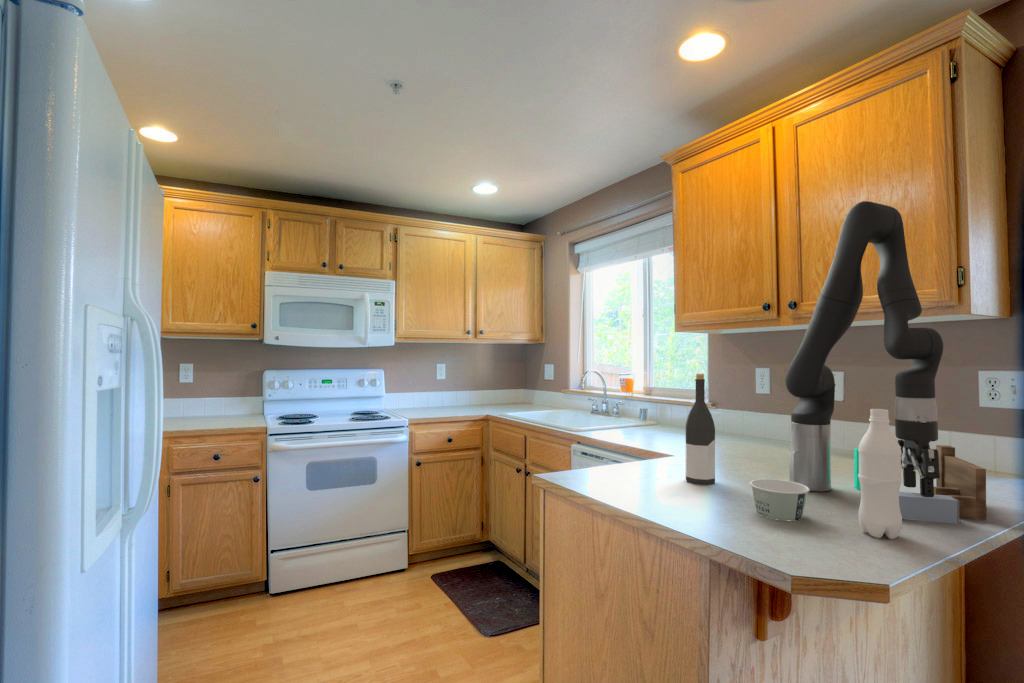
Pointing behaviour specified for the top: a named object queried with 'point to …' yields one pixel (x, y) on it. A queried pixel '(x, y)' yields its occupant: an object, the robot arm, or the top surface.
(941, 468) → the wooden holder stand
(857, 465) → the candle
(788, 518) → the food container
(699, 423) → the wine bottle
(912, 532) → the top surface
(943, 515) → the light blue rectangular bar
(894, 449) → the water bottle
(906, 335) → the robot arm
